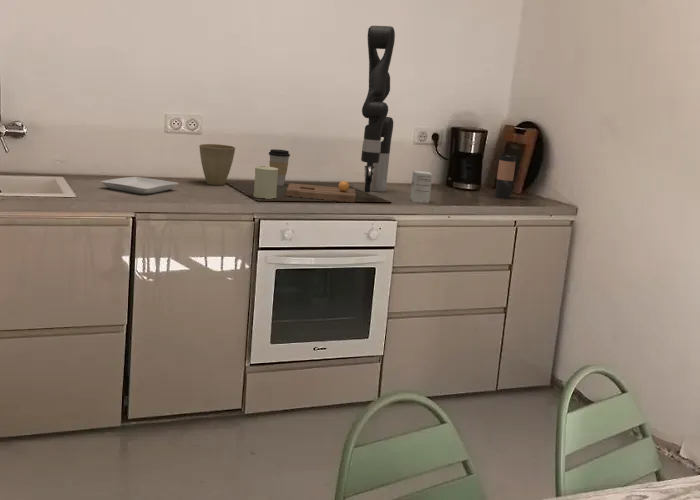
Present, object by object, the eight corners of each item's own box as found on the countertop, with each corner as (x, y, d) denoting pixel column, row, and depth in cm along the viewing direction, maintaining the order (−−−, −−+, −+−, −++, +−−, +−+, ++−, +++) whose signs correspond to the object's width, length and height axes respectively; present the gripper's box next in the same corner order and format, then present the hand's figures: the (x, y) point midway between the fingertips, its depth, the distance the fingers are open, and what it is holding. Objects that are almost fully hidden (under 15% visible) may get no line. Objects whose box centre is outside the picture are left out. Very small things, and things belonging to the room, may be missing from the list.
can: (266, 194, 322) (268, 164, 319) (281, 198, 315) (283, 168, 313) (248, 195, 315) (250, 165, 313) (262, 199, 309) (265, 168, 306)
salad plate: (99, 189, 299) (99, 180, 299) (134, 184, 319) (134, 175, 318) (146, 197, 292) (146, 188, 291) (179, 191, 311) (179, 182, 310)
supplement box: (409, 199, 345) (412, 170, 342) (426, 200, 346) (429, 171, 343) (412, 202, 338) (415, 172, 335) (429, 203, 338) (432, 174, 336)
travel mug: (511, 197, 380) (517, 155, 375) (509, 199, 372) (515, 157, 368) (495, 195, 382) (501, 153, 377) (493, 197, 375) (498, 155, 370)
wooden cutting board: (289, 189, 341) (289, 183, 340) (354, 195, 342) (354, 189, 341) (286, 196, 321) (286, 190, 321) (355, 202, 322) (355, 196, 322)
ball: (337, 190, 334) (338, 179, 333) (348, 191, 334) (349, 180, 333) (337, 191, 329) (338, 181, 328) (348, 192, 329) (349, 182, 328)
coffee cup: (284, 187, 345) (287, 152, 342) (263, 184, 347) (265, 150, 344) (290, 184, 354) (292, 150, 351) (270, 182, 356) (272, 148, 353)
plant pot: (204, 179, 344) (205, 142, 341) (237, 183, 342) (239, 146, 339) (192, 184, 330) (194, 145, 326) (227, 188, 328) (229, 149, 325)
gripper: (381, 153, 321) (376, 195, 325) (379, 149, 334) (375, 190, 338) (362, 151, 321) (358, 193, 325) (361, 148, 334) (357, 189, 338)
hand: (367, 192), depth 331 cm, fingers closed
